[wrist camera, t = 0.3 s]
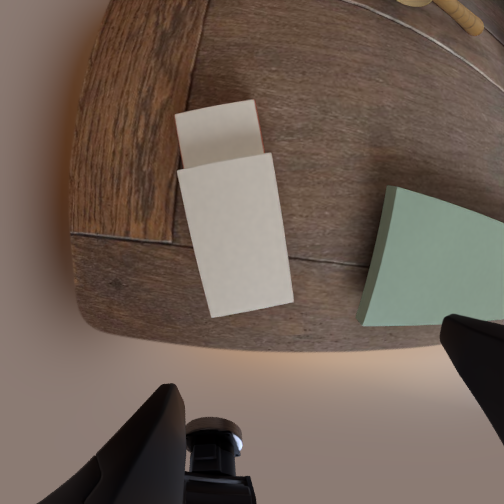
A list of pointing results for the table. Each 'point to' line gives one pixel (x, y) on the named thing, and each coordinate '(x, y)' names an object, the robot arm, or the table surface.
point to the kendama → (453, 13)
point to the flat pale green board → (432, 263)
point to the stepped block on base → (233, 208)
